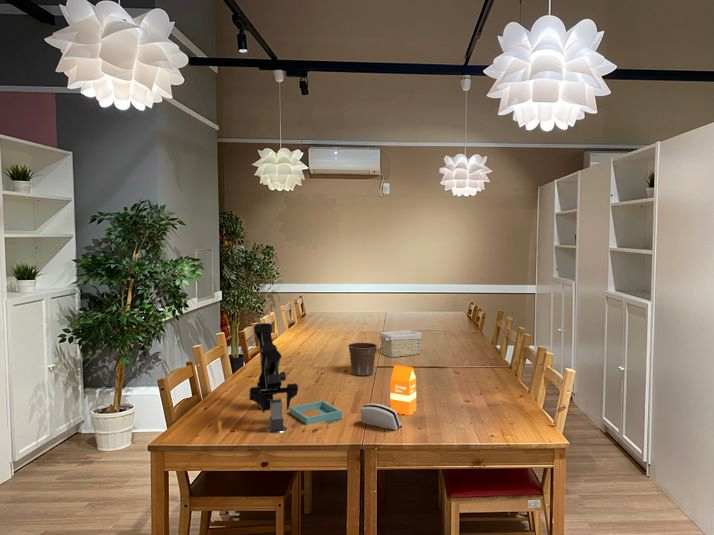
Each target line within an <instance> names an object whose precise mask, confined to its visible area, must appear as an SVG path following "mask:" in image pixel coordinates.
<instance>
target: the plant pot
mask: <svg viewBox="0 0 714 535" xmlns="http://www.w3.org/2000/svg"><path fill="white" fill-rule="evenodd" d="M347 346H348V351H349V356H350V367H351V374H352V375H353V376H356V375H362V376H361V377H365V376H364V375H367V376H369V375H370V376H372V375H374V370H375V359H376V358H375V357H376V353H377V347H378V345H377V344H375V343H371V342H353V343H349V344H348V345H347Z"/></svg>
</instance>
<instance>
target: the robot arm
mask: <svg viewBox="0 0 714 535" xmlns="http://www.w3.org/2000/svg"><path fill="white" fill-rule="evenodd" d="M273 328H274V327H273V324H272V323H269V322H267V323H265V322H264V323H256V324H255V325H254V326H253V329H252V330H253V331H252V332H253V335H254V338H255V340H256V341H257V343H258V346H259V360H260V372H261V373H260V374H259V377H258V380H257V382H256V386H251V387H250V388H249V396H248V397H249V400H250V401H253V402H255V403H256V404H257V408H258V407H259V408H258V409H260V410H261V412H262V413H263V414H265V411H266V410H267V411H268V409H269V410H270V400H274V395H277V394H286V397H285V398H286V400H285V401H286V411H290V403H291V400H292V399H293V398H295V397H296V396H297V395H298V392H299V386H298V384H297V383H296V382H294V383H287V386H286V387H282V385H283V384H282V382H285V381H286V379H287V378H286V377H287V376H286V372H285V371H282V372H280V371H279V366H280V361H281V359H282V354H281V353H280V352H279V350H278V348H277V345H276V344H274V343H273V338H272V334H273Z"/></svg>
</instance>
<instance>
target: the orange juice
mask: <svg viewBox="0 0 714 535" xmlns="http://www.w3.org/2000/svg"><path fill="white" fill-rule="evenodd" d="M390 408H392V409H394V410H395V411H396V412H397V413H399V414H398V415H401V414H405V415H404V416H407V415H410V416H411V415H413V414H414V413H415V412H416V411H417V376H416V374H415V371H414V368H413V367H412V366H406V365H398V364H394V366H393V370H392V373H391V379H390ZM414 411H415V412H414ZM413 412H414V413H413Z"/></svg>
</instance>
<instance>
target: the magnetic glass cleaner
mask: <svg viewBox="0 0 714 535" xmlns="http://www.w3.org/2000/svg"><path fill="white" fill-rule="evenodd" d="M360 418H361V420H360V421H361V423H362V422H365V423H369V424H368V425H370V424H373V425H372V426H374V425H378V426H382V427H386V428H385V429H387V428H390V429H389V430H391V429H394V430H393V431H395V430H397V429H398V430H399V428H401V427H400V426H402V427H403V423H402V422H400V419H399V414H397V412H396V411H395V410H394V409H392V408H391V407H389V406H387V405H383V404H381V403H366V404H364V405H362V407H361V408H360ZM365 423H364V424H365ZM378 426H377V427H378ZM382 427H381V428H382ZM398 430H397V431H398Z"/></svg>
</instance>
